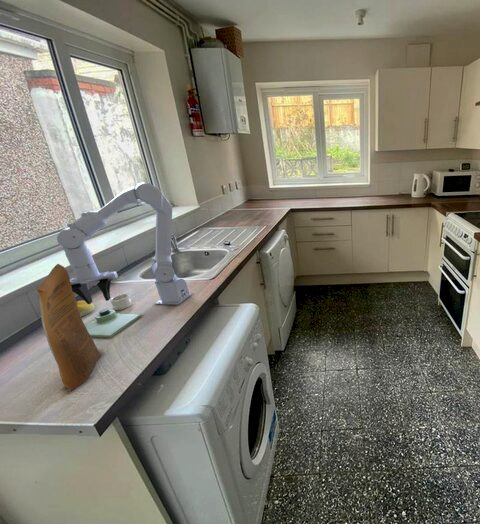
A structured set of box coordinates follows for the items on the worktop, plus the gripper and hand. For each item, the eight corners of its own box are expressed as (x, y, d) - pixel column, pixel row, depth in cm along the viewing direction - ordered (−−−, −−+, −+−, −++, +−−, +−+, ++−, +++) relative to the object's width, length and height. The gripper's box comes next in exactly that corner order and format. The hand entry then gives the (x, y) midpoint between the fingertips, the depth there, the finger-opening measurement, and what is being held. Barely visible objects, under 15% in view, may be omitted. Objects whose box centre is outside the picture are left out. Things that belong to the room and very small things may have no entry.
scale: (141, 316, 101) (139, 310, 100) (110, 337, 90) (107, 331, 89) (107, 314, 103) (104, 309, 102) (72, 336, 92) (69, 329, 91)
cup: (135, 302, 111) (132, 293, 109) (123, 310, 105) (119, 301, 104) (123, 302, 111) (119, 293, 110) (110, 310, 106) (105, 301, 105)
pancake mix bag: (112, 344, 87) (73, 259, 76) (90, 389, 71) (37, 288, 60) (84, 351, 84) (40, 264, 73) (55, 399, 68) (-7, 296, 57)
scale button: (111, 312, 100) (110, 308, 100) (105, 316, 98) (103, 312, 97) (105, 312, 101) (103, 308, 100) (98, 316, 98) (96, 312, 98)
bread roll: (65, 322, 100) (60, 312, 98) (67, 312, 106) (62, 303, 105) (95, 313, 105) (91, 303, 103) (95, 304, 111) (91, 295, 110)
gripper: (47, 273, 86) (67, 312, 92) (106, 264, 91) (121, 301, 96) (59, 265, 92) (76, 302, 98) (113, 257, 97) (127, 292, 102)
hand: (99, 301), depth 97 cm, fingers open, 4 cm apart
